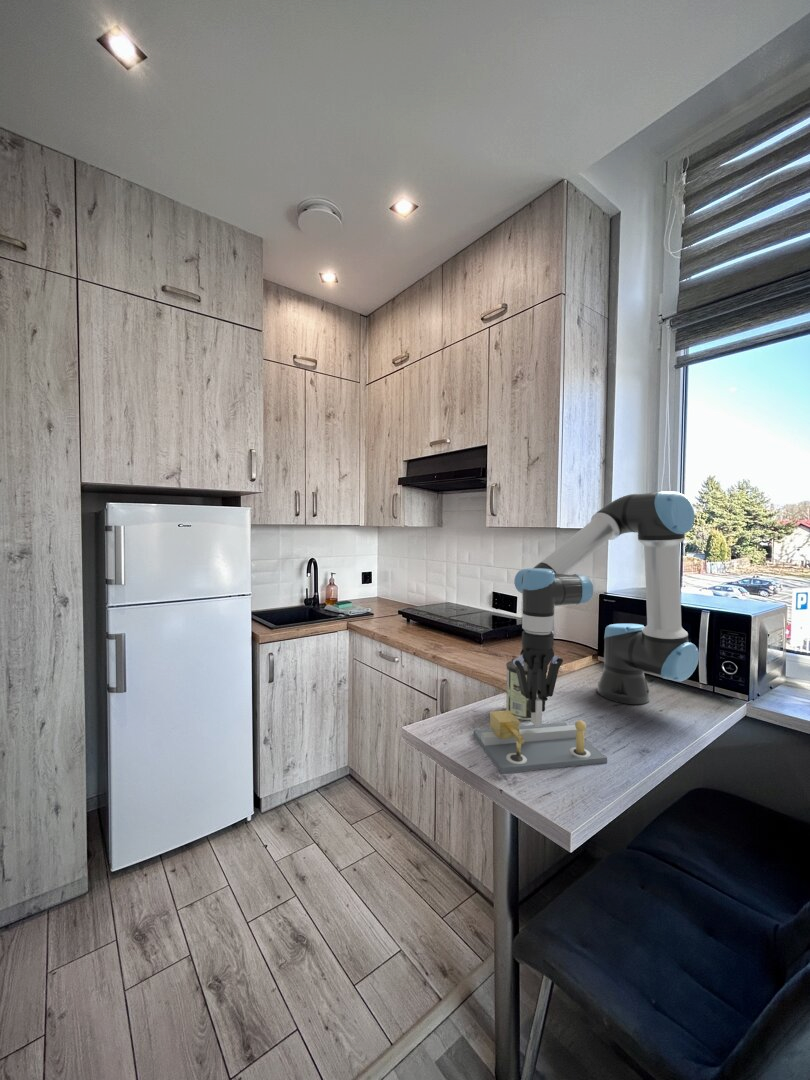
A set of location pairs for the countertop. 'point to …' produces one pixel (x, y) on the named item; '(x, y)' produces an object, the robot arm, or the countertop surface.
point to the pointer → (506, 727)
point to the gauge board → (541, 747)
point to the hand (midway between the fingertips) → (536, 724)
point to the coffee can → (516, 694)
